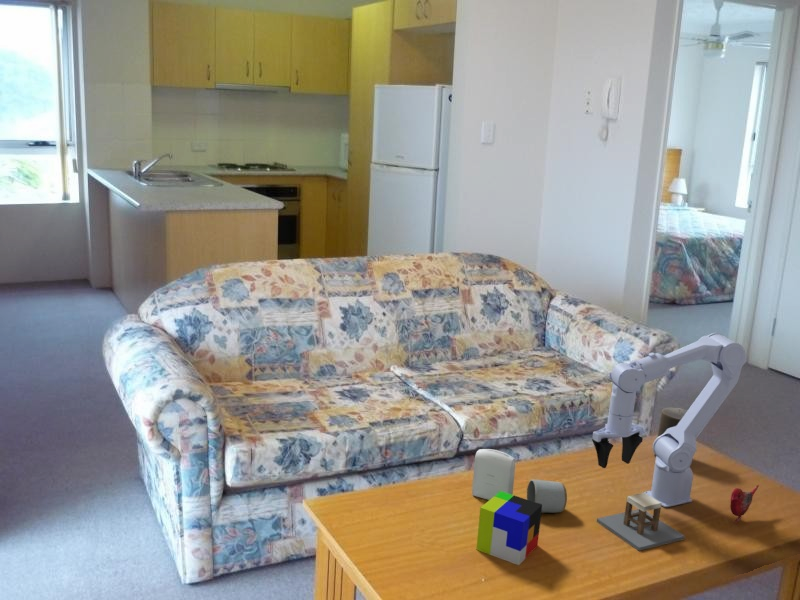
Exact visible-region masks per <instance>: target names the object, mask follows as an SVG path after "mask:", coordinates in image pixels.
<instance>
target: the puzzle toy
mask: <svg viewBox="0 0 800 600" xmlns="http://www.w3.org/2000/svg"><path fill="white" fill-rule="evenodd" d="M541 511H542V504H539V503H536V502H533V501H530V500H527V498H523V497H520V496H516V495H514V494H513V495H511V494H508V493H505V492H502V491H500V492H499V493H498V494H496V495H495V496H494V497H493V498H491V499H490V500H488V501H487V502H485V503H484V504H482V506H481V507H480V509H479V516H478V517H479V520H478V528H477V529H478V530H477V539H476V549H475V550H477V551H479V552H482V553H485V554H486V555H487V554H488V555H491V556H492V557H493V556H494V557H496V558H498V559H501V560H504V561H506V562H509V563H512V564H515V565H517V566H520V565H521V564H522V562H523V561H525V559H527V557H528V556H529V555H530V554H531V553H532V552H533V551H534V550H535V549H536V548H537V547H538V546H539V545H538V543H539V536H540V535H539V534H540V526H541V517H542V512H541Z"/></svg>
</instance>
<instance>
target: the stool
mask: <svg viewBox="0 0 800 600" xmlns="http://www.w3.org/2000/svg"><path fill="white" fill-rule="evenodd" d="M661 504H662V503H661V502H659V501H658V500H656V499H654V498H653V497H651V496H649V495H648V494H646V493H643V492H642V493H637V494H633V495H628V496H627V497H626V504H625V511H624V512H625V516H624V523H623V524H624V525H626V526H628V525H630V521H632V522H633V523H635V524H636V525H638V529H637V533H638V534H639V535H642V534H643V533H644V527H646V526H650V525H652V526H651V530H653V531H657V530H658V523H659V520H660V517H661V510H662V505H661ZM633 507H635V508H637V509H639V512H638V513H633V514H631V512H632V511H633ZM652 510H653V514H652V515H653V518H651V517H650V516H648V515H647V514H646V513H647V512H649V511H652ZM637 516H638V520H635V519H634V518H633V517H637ZM645 519H648V520H649V521H650V522H646V523H645ZM638 521H639V522H638Z"/></svg>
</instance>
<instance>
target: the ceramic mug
mask: <svg viewBox="0 0 800 600" xmlns="http://www.w3.org/2000/svg"><path fill="white" fill-rule="evenodd" d="M526 489H527V490H526V499H527V500H530V501H533V502H536V503H539V504H542V511H541V513H551V514H552V513H553V514H556V513H562V512H563V511H564V510H565V508H566V506H567V503H568V493H567V488H566V486H565V485H564V483H563V482H559V481H554V480H553V481H552V480H551V481H550V480H543V479H534V478H533V479H530V480H529V482H528V484H527V488H526Z"/></svg>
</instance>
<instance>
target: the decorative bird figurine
mask: <svg viewBox="0 0 800 600" xmlns="http://www.w3.org/2000/svg"><path fill="white" fill-rule="evenodd" d="M758 488H759V484H757V485H756V486H755V487H754V488H753V489H752V490H751V491H750V492H749V491H743V490H742V489H741V488H738V487H736V488H734V489H733V490H732V493H731V494H730V505H729V506H730V511H731V513H732V515H734V516H736V517H737V518H736V519H735V520H734V522H733V524H736V522H737V523H739V521H741V518H742V517H743V515H745V514H746V513H747V512H748V510H749V508H750V506H751V504H752V502H753V497H754V495H755V493H756V492H757V490H758Z"/></svg>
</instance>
